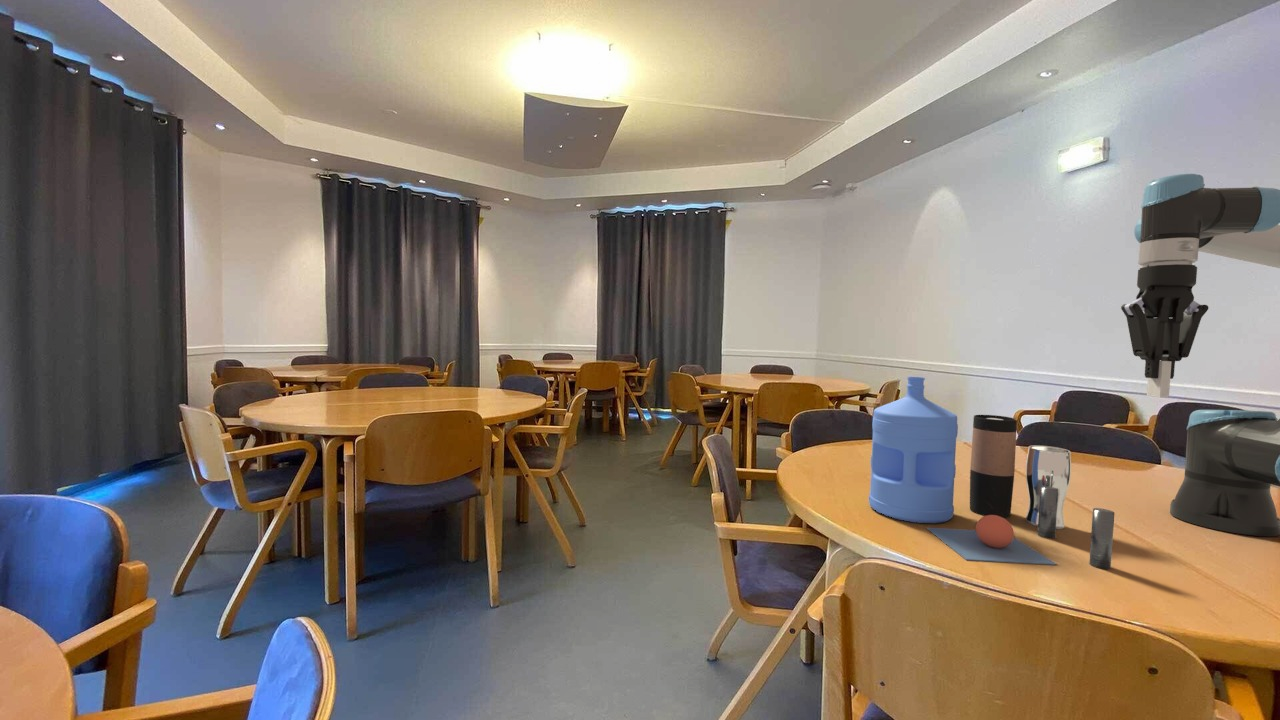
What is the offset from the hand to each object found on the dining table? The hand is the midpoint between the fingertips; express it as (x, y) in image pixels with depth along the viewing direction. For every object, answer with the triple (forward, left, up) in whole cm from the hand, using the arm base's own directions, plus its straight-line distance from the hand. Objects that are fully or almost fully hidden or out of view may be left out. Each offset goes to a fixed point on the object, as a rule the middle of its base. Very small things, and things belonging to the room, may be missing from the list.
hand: (1157, 396), depth 96 cm
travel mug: (+21, -12, -27) cm, 36 cm away
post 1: (+18, +1, -26) cm, 32 cm away
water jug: (+38, -10, -27) cm, 47 cm away
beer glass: (+14, -6, -27) cm, 31 cm away
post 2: (+18, +13, -26) cm, 35 cm away
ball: (+31, +8, -24) cm, 40 cm away
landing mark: (+32, +7, -26) cm, 42 cm away
